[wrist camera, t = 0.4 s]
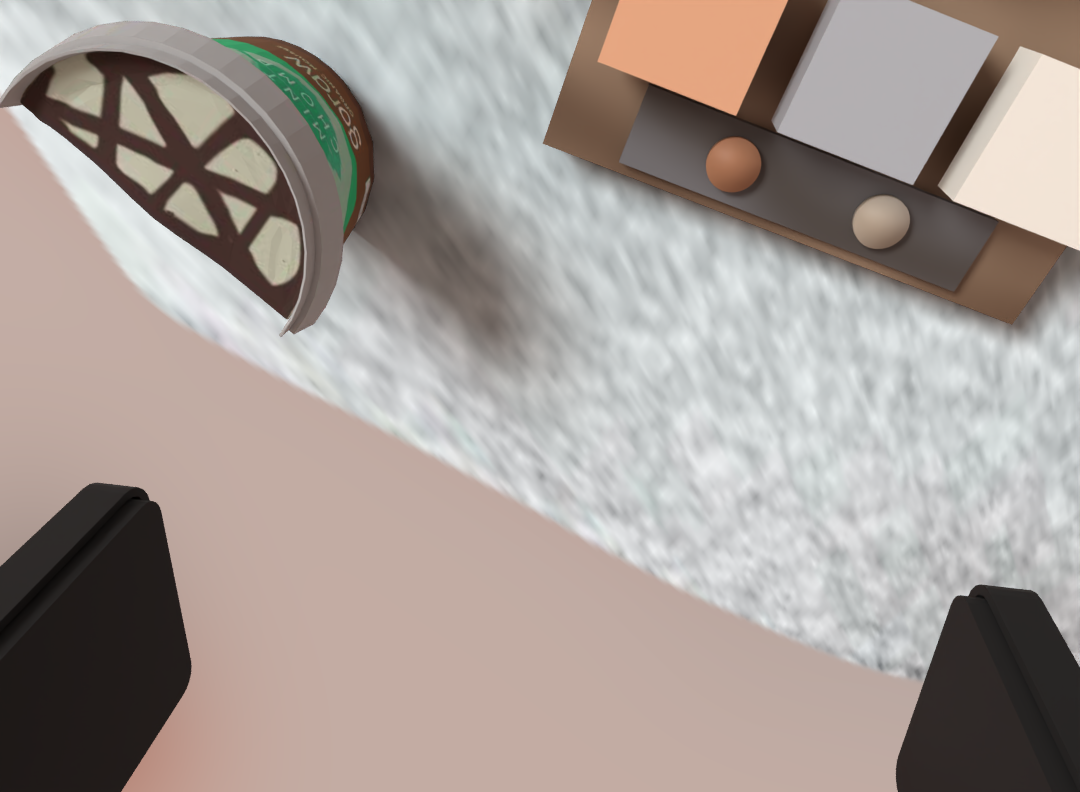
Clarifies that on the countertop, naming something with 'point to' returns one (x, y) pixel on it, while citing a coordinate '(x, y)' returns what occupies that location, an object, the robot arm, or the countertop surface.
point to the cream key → (1025, 151)
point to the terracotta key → (693, 45)
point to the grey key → (881, 83)
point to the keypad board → (822, 157)
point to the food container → (218, 146)
